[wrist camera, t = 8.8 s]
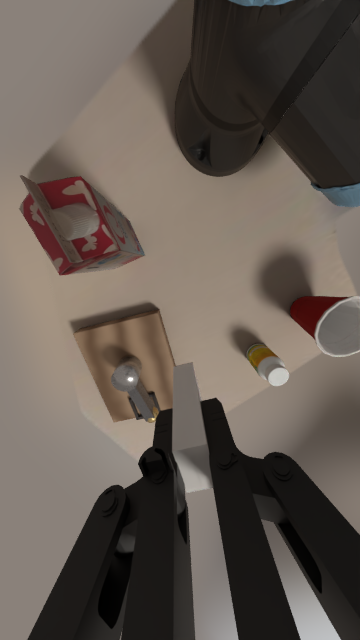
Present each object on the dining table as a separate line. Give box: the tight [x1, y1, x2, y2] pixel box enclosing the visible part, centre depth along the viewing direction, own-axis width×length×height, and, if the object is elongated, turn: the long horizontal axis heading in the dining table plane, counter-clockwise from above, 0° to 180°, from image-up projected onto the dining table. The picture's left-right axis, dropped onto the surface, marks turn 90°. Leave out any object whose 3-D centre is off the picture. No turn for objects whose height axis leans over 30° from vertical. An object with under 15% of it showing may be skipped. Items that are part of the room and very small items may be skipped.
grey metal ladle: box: [111, 356, 159, 423], centre depth 39 cm, size 15×5×5 cm, turn 24°
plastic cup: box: [290, 296, 360, 357], centre depth 35 cm, size 11×11×12 cm
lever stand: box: [73, 309, 175, 422], centre depth 42 cm, size 18×24×4 cm
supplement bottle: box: [247, 344, 289, 386], centre depth 39 cm, size 5×5×10 cm
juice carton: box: [19, 176, 145, 275], centre depth 25 cm, size 7×7×22 cm
